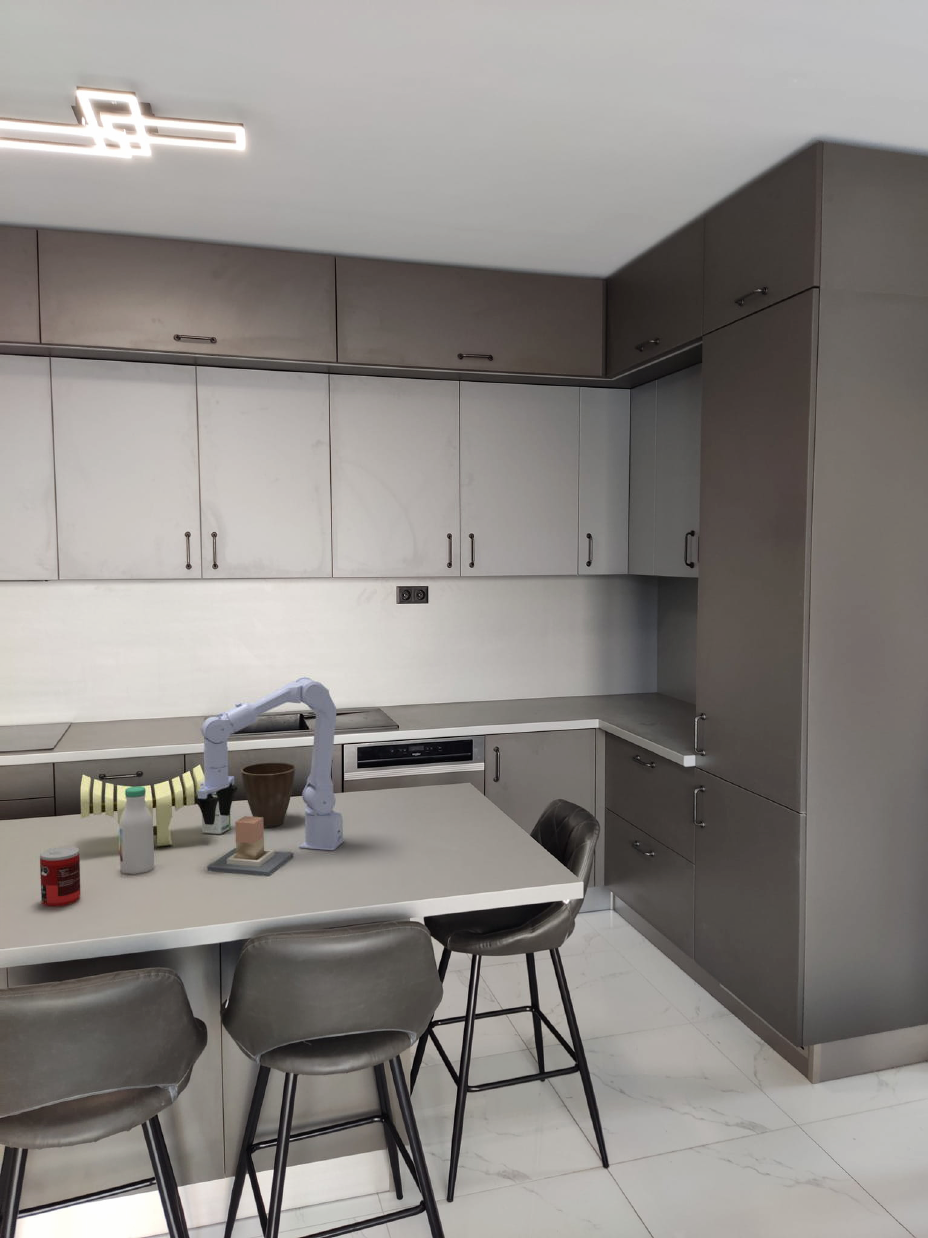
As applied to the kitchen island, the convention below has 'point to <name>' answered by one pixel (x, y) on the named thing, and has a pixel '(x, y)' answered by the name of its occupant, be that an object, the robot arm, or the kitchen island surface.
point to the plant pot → (268, 790)
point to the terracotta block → (249, 829)
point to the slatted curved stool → (161, 801)
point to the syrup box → (217, 822)
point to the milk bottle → (136, 833)
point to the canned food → (60, 876)
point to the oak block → (250, 850)
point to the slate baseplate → (250, 863)
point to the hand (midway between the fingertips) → (217, 819)
